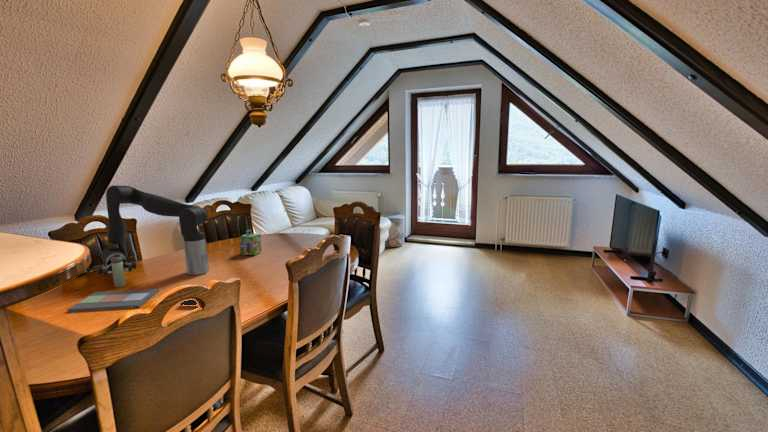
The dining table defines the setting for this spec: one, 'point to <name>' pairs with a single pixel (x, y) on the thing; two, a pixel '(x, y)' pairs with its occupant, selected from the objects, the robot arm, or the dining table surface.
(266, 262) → the dining table surface
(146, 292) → the picture board
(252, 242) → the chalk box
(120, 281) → the green bottle grey cap
